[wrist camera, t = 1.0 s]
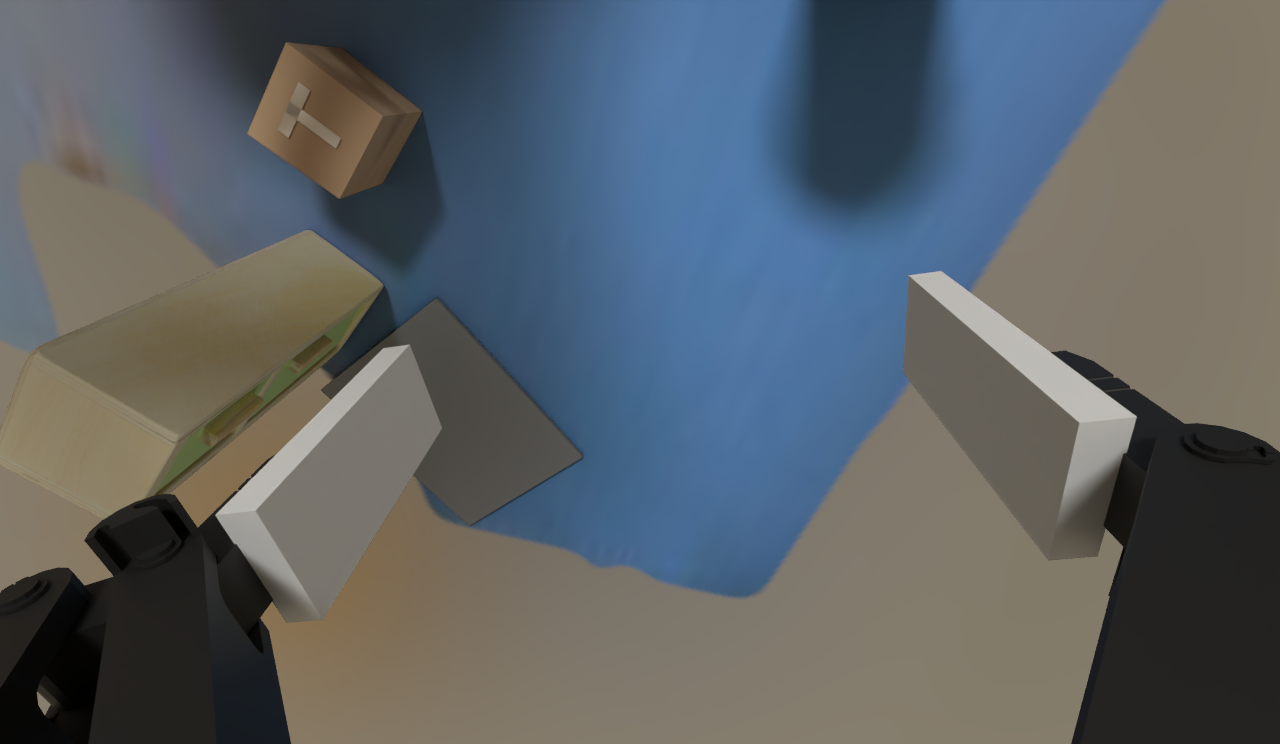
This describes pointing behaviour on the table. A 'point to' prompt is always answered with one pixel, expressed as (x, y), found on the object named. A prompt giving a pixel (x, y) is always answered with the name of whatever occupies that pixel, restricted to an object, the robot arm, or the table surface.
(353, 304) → the light wooden block
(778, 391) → the table surface
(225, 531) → the robot arm
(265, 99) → the letter cube
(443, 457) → the mat
